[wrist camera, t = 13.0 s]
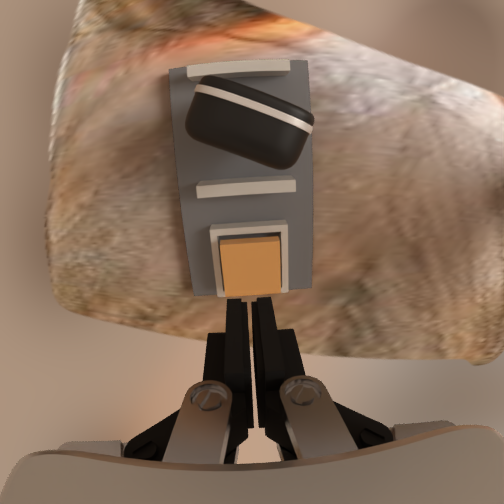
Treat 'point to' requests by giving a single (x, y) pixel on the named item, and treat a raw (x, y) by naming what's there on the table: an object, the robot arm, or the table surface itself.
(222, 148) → the battery charger
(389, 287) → the table surface
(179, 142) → the charging dock
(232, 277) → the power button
